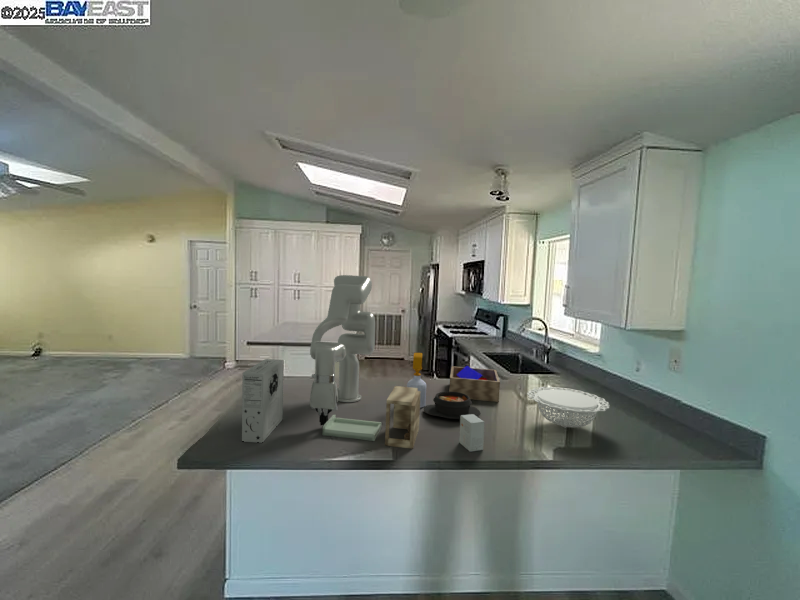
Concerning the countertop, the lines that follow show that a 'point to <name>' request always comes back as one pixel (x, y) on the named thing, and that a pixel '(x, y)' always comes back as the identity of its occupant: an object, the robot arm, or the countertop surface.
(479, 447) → the small box
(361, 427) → the tray
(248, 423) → the cereal box
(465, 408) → the casserole
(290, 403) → the countertop surface
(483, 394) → the open wooden box
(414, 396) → the shelf
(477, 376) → the house
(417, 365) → the soap bottle
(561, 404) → the colander
